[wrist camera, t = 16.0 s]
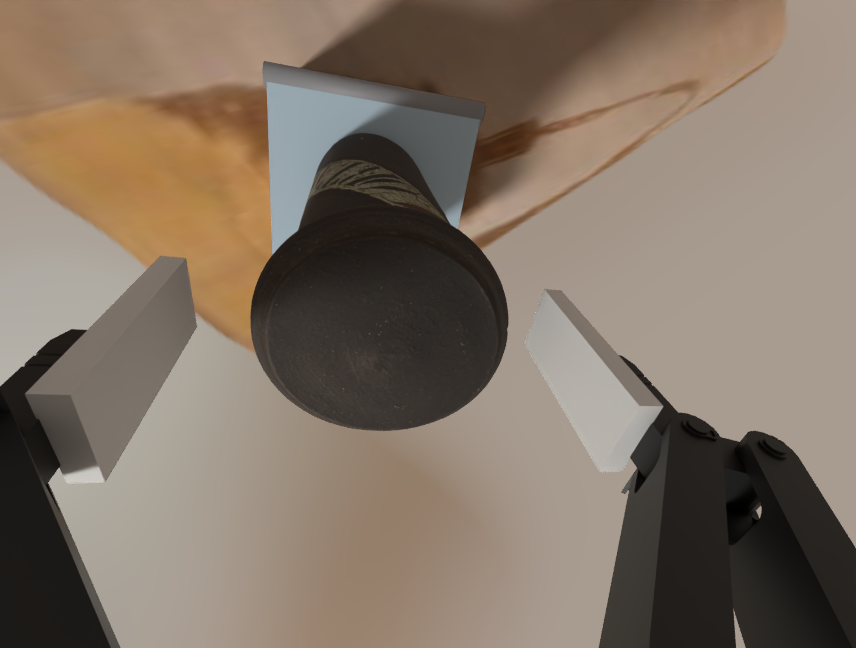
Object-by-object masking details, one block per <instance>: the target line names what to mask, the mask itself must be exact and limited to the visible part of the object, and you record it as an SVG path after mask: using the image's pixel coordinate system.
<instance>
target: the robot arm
mask: <svg viewBox="0 0 856 648" xmlns="http://www.w3.org/2000/svg"><path fill="white" fill-rule="evenodd" d="M196 327H197V325H196V318H195V312H194V305H193V299H192V293H191V286H190V280H189V274H188V267H187V261H186V258H178V257H167V256H160V257H159V258H158V259H157V260H156V261H155V262H154V263H153V264H152V265H151V266H150V267H149V268H148V269H147V270H146V271H145V272H144V273H143V274H142V275H141V276H140V277H139V278H138V279H137V280H136V282H134V283H133V284H132V285H131V286H130V287H129V288H128V289H127V291H126V292H125V293H124V294H123V295H122V296H121V297H120V298H119V299H118V300H117V301H116V302H115V303H114V304H113V305H112V306H111V307H110V308H109V309H108V310H107V311H106V312H105V313H104V314H103V315H102V316H101V317H100V318H99V319H98V320H97V321H96V322H95V323H94V324H93V325H92V326H91V327H90V328H89V329H88V330H75V329H71V330H69V331H67V332H65V333H63V334H62V335H59V336H58V337H56V338H54V339H52V340H50V341H49V342H48V343H47V344H46V345H45V346H44V347H43V348H41V349H40V350H39V351H38V352H37V355H36V356H33V357H32V358H31V359H29V360H28V361H27V362H26V363H25V366H24V367H21V368H20V369H19V370H18V371H17V372H15V373H14V374H13V375H12V376H11V377H10V378H9V379H8V380H7V381H6V382H5V383H4V384H2V385H1V386H0V648H120V646H119V644H118V642H117V639H116V637H115V635H114V632H113V630H112V628H111V625H110V623H109V621H108V618H107V616H106V614H105V612H104V609H103V607H102V605H101V602H100V600H99V598H98V595H97V593H96V591H95V589H94V586H93V584H92V582H91V579H90V577H89V575H88V572H87V570H86V568H85V566H84V563H83V561H82V559H81V557H80V554H79V552H78V549H77V547H76V545H75V543H74V540H73V538H72V536H71V533H70V531H69V529H68V526H67V524H66V522H65V520H64V517H63V515H62V513H61V510H60V508H59V506H58V503H57V501H56V499H55V497H54V495H53V492H52V490H51V488H50V486H49V484H48V482H49V480H50V479H51V478H52V476H53V475H54V474H55V472H56V471H57V469H58V468H59V467H60V470H61V472H62V474H63V476H64V478H65V480H66V482H67V483H98V482H99V483H100V482H101V483H104V482H106V480H107V478H108V477H109V475H110V473H111V472H112V470H113V468H114V467H115V465H116V463H117V461H118V460H119V458H120V456H121V455H122V453H123V451H124V450H125V448H126V446H127V445H128V443H129V441H130V439H131V438H132V436H133V434H134V433H135V431H136V429H137V428H138V426H139V424H140V422H141V421H142V419H143V417H144V416H145V414H146V412H147V410H148V409H149V407H150V405H151V404H152V402H153V400H154V399H155V397H156V395H157V394H158V392H159V390H160V389H161V387H162V385H163V383H164V382H165V380H166V378H167V377H168V375H169V373H170V372H171V370H172V368H173V366H174V365H175V363H176V361H177V360H178V358H179V356H180V355H181V353H182V351H183V350H184V348H185V346H186V344H187V343H188V341H189V339H190V338H191V336H192V334H193V333H194V331H195V329H196ZM524 345H525V346H526V348H527V350H528V352H529V353H530V355H531V357H532V358H533V360H534V361H535V363H536V365H537V367H538V368H539V370H540V372H541V373H542V375H543V377H544V379H545V380H546V382H547V384H548V385H549V387H550V389H551V390H552V392H553V394H554V396H555V397H556V399H557V401H558V402H559V404H560V406H561V407H562V409H563V411H564V412H565V414H566V416H567V418H568V419H569V421H570V423H571V425H572V426H573V428H574V429H575V431H576V433H577V435H578V436H579V438H580V440H581V441H582V443H583V445H584V447H585V448H586V450H587V452H588V453H589V455H590V457H591V458H592V460H593V462H594V463H595V465H596V467H597V469H598V470H599V472H621V471H622V470H623V469H624V467H625V465H626V464H627V462H628V461H629V459H630V458H631V459H632V461H633V462H634V464H635V465H636V467H637V469H636V471H635V472H634V474H633V475H632V477H631V478H630V480H629V481H628V483H627V484H626V486H625V487H624V489H623V490H622V493H624V494H625V493H626V492H627V491H628V490H629V494H628V499H627V505H626V510H625V516H624V520H623V525H622V530H621V536H620V541H619V547H618V552H617V556H616V562H615V567H614V572H613V577H612V582H611V587H610V593H609V598H608V603H607V608H606V614H605V619H604V624H603V629H602V634H601V639H600V644H599V648H736V642H735V627H734V613H733V608H734V611H735V615H736V618H737V621H738V624H739V628H740V631H741V634H742V637H743V640H744V643H745V647H746V648H856V548H855V546H854V545H853V543H852V541H851V540H850V538H849V537H848V535H847V534H846V532H845V530H844V529H843V527H842V526H841V524H840V522H839V521H838V519H837V518H836V516H835V515H834V513H833V511H832V510H831V508H830V507H829V505H828V503H827V502H826V500H825V499H824V497H823V496H822V494H821V492H820V491H819V489H818V487H817V486H816V484H815V483H814V481H813V480H812V478H811V476H810V475H809V473H808V472H807V470H806V468H805V467H804V465H803V464H802V462H801V461H800V459H799V457H798V456H797V455H796V454H795V453H794V451H793V450H792V449H790V448H789V447H788V446H787V445H785V443H784V442H782V441H781V440H778V439H777V438H775V437H773V436H770V435H768V434H765V433H762V432H758V431H750V432H748V433H747V434H746V435H745V437H744V438H743V439H742V440H741V441H740V442H737V441H733V440H730V439H726V438H721V437H720V436H719V434H718V433H717V432H716V431H715V430H714V428H713V427H711V426H710V425H709V424H707V423H706V422H705V421H703V420H701V419H699V418H697V417H696V416H693V415H690V414H686V413H678V412H677V411H676V410H675V409H674V408H673V406H672V405H671V404H670V403H669V402H668V401H667V400H666V399H665V398H664V397H663V395H662V394H661V393H660V392H659V391H658V390H657V389H656V388H655V387H654V386H652V385H651V384H652V383H651V382H650V381H649V380H648V379H647V378H646V377H644V375H643V373H642V372H641V371H640V370H639V369H638V368H637V367H636V366H635V365H634V364H633V363H631V362H630V361H628V360H627V359H626V358H624V357H623V356H620V355H618V354H617V353H616V352H615V351H614V350H613V349H612V347H611V346H610V345H609V344H608V343H607V342H606V341H605V340H604V338H603V337H602V336H601V335H600V334H599V333H598V332H597V330H596V329H595V328H594V327H593V326H592V325H591V324H590V323H589V321H588V320H587V319H586V318H585V317H584V316H583V315H582V314H581V313H580V311H579V310H578V309H577V308H576V307H575V306H574V305H573V303H572V302H571V301H570V300H569V299H568V298H567V297H566V295H565V294H564V293H563V292H562V291H560V290H548V289H544V291H543V294H542V297H541V299H540V302H539V305H538V308H537V310H536V313H535V316H534V319H533V322H532V324H531V327H530V330H529V333H528V336H527V338H526V341H525V344H524ZM760 506H761V507H762V513H761V517H760V518H759V516H758V514H757V512H756V510H757V509H758V508H759V507H760Z"/></svg>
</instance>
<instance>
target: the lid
mask: <svg viewBox="0 0 856 648" xmlns="http://www.w3.org/2000/svg"><path fill="white" fill-rule="evenodd" d="M263 82H264V86H265V87H267V105H268V136H269V166H270V197H271V228H272V255H273V254H274V253H275V251H276V250H277V249H278V248H279V247H280V246H281V245H282V244H283V243H284V242H285V241H286V240H287V239H288V238H289V237H290V236H291V235H293V234H294V233H295V232H297V231H298V229H299V225H300V221H301V218H302V215H303V212H304V209H305V205H306V202H307V199H308V196H309V193H310V190H311V187H312V184H313V180H314V177H315V175H316V172H317V169H318V166H319V164H320V162H321V160H322V159H323V157H324V156H325V154H326V153H327V152H328V150H329V149H330V148H331V147H332V146H333V144H335V143H336V142H338V141H339V140H341V139H343V138H344V137H347V136H349V135H352V134H357V133H370V134H376V135H380V136H382V137H385V138H387V139H389V140H391V141H393V142H394V143H396V144H398V145H399V146H400V147H402V148H403V149H404V150H405V151H406V152H407V153H408V154H409V156H410V157H411V158H412V159H413V161H414V162H415V164H416V165H417V167H418V168H419V170H420V172H421V174H422V176H423V177H424V179H425V181H426V183H427V185H428V187H429V188H430V190H431V192H432V194H433V196H434V197H435V199H436V201H437V202H438V204H439V206H440V207H441V209H442V210H443V212H444V213H445V215H446V217H447V219H448V221H449V222H450V224H451V225H452V226H454V227H455V228H457V229H458V225H459V220H460V215H461V211H462V206H463V201H464V196H465V191H466V187H467V182H468V177H469V172H470V167H471V162H472V158H473V153H474V148H475V143H476V138H477V134H478V129H479V125H481V124H482V122H483V119H484V115H485V108H486V106H485V103H483V102H478V101H473V100H467V99H462V98H457V97H452V96H446V95H441V94H436V93H430V92H425V91H420V90H414V89H409V88H404V87H399V86H393V85H388V84H383V83H377V82H372V81H367V80H361V79H356V78H351V77H346V76H340V75H335V74H330V73H324V72H319V71H314V70H308V69H303V68H298V67H293V66H287V65H282V64H277V63H271V62H266V61H264V63H263Z"/></svg>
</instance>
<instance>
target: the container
mask: <svg viewBox="0 0 856 648" xmlns="http://www.w3.org/2000/svg"><path fill="white" fill-rule="evenodd" d="M507 328H508V309H507V303H506V297H505V293H504V290H503V287H502V284H501V281H500V279H499V277H498V275H497V273H496V271H495V269H494V268H493V266H492V264H491V263H490V261H489V260H488V259H487V257H486V256H485V255H484V253H483V252H482V251H481V250H480V249H479V247H478V246H477V245H476V244H475V243H474V242H473V241H472V240H470V239H469V238H468V237H467V236H466V235H465V234H463V233H462V232H461V231H460V230H458V229H457V228H455V227H454V226H452V225H451V224H450V222H449V221H448V219H447V217H446V215H445V213H444V212H443V210H442V209H441V207H440V206H439V204H438V202H437V201H436V199H435V197H434V196H433V194H432V192H431V190H430V188H429V187H428V185H427V183H426V181H425V179H424V177H423V176H422V174H421V172H420V170H419V168H418V167H417V165H416V164H415V162H414V161H413V159H412V158H411V157H410V156H409V154H408V153H407V152H406V151H405V150H404V149H403V148H402V147H400V146H399V145H398V144H396V143H394V142H393V141H391V140H389V139H387V138H385V137H382V136H380V135H376V134H370V133H357V134H352V135H349V136H347V137H344V138H343V139H341V140H339V141H338V142H336V143H335V144H333V146H332V147H331V148H330V149H329V150H328V152H327V153H326V154H325V156H324V157H323V159H322V160H321V162H320V164H319V166H318V169H317V172H316V175H315V177H314V180H313V184H312V187H311V190H310V193H309V196H308V199H307V202H306V205H305V209H304V212H303V215H302V218H301V221H300V225H299V229H298V231H297V232H295V233H294V234H293V235H291V236H290V237H289V238H288V239H287V240H286V241H285V242H284V243H283V244H282V245H281V246H280V247H279V248H278V249H277V250H276V251H275V253H274V254H273V255H272V256H271V258H270V259H269V260H268V262H267V264H266V265H265V267H264V269H263V271H262V272H261V274H260V277H259V279H258V282H257V284H256V287H255V291H254V294H253V299H252V305H251V333H252V340H253V345H254V348H255V352H256V354H257V357H258V360H259V362H260V364H261V366H262V368H263V370H264V371H265V373H266V374H267V376H268V377H269V379H270V380H271V382H272V383H273V384H274V385H275V386H276V388H277V389H278V390H279V391H280V392H281V393H282V394H283V395H284V396H285V397H286V398H287V399H289V400H290V401H291V402H293V403H294V404H295V405H297V406H298V407H300V408H301V409H303V410H304V411H306V412H308V413H309V414H311V415H313V416H315V417H317V418H320V419H322V420H325V421H327V422H329V423H333V424H336V425H340V426H344V427H348V428H354V429H362V430H377V431H391V430H402V429H408V428H413V427H418V426H421V425H425V424H429V423H431V422H435V421H437V420H440V419H442V418H445V417H447V416H449V415H451V414H453V413H454V412H456V411H458V410H459V409H461V408H462V407H464V406H465V405H467V404H468V403H469V402H470V401H472V400H473V399H474V398H475V397H476V396H477V395H478V394H479V393H480V392H481V391H482V390H483V389H484V388H485V387H486V385H487V384H488V383H489V381H490V380H491V378H492V376H493V375H494V373H495V371H496V370H497V368H498V366H499V364H500V361H501V359H502V356H503V353H504V350H505V347H506V342H507Z"/></svg>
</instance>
